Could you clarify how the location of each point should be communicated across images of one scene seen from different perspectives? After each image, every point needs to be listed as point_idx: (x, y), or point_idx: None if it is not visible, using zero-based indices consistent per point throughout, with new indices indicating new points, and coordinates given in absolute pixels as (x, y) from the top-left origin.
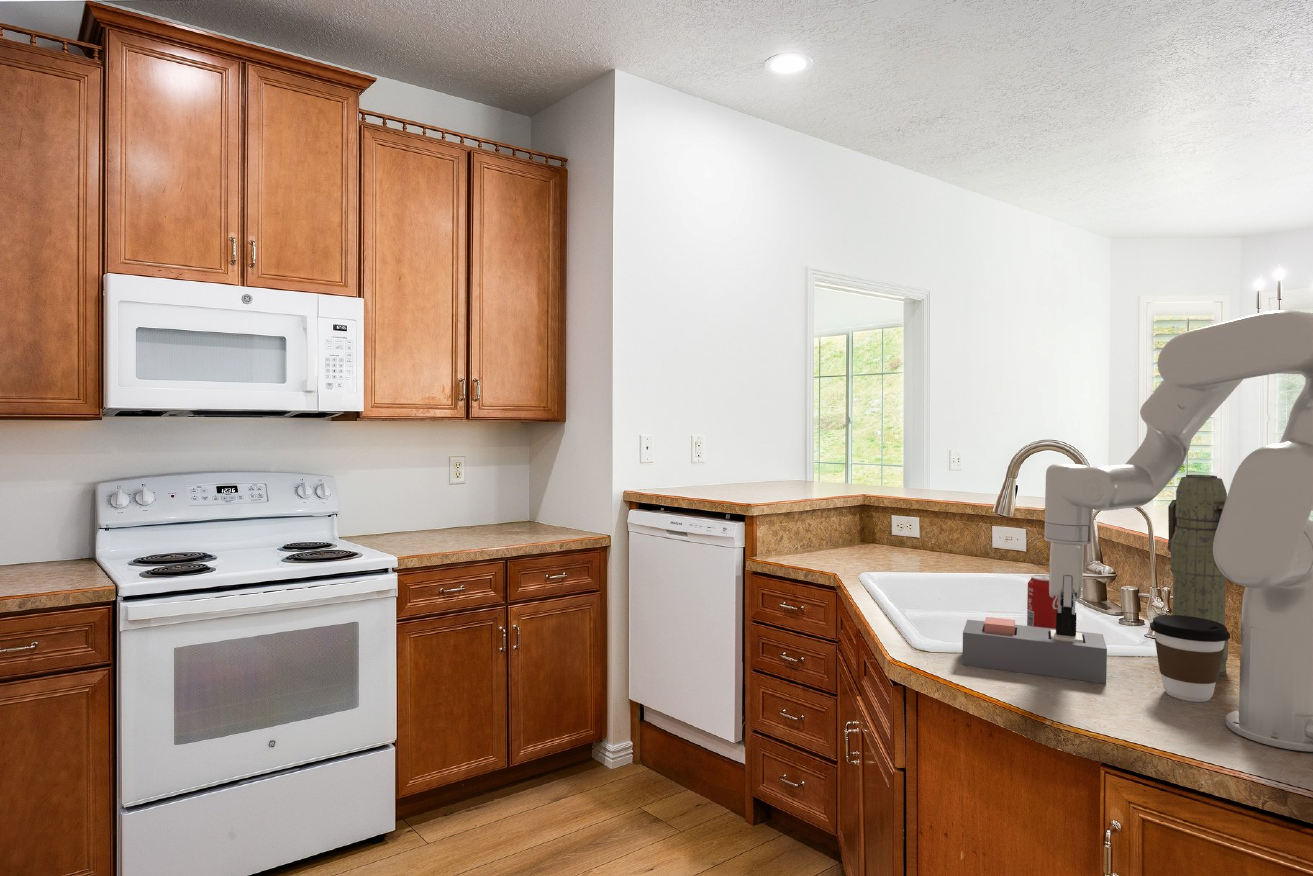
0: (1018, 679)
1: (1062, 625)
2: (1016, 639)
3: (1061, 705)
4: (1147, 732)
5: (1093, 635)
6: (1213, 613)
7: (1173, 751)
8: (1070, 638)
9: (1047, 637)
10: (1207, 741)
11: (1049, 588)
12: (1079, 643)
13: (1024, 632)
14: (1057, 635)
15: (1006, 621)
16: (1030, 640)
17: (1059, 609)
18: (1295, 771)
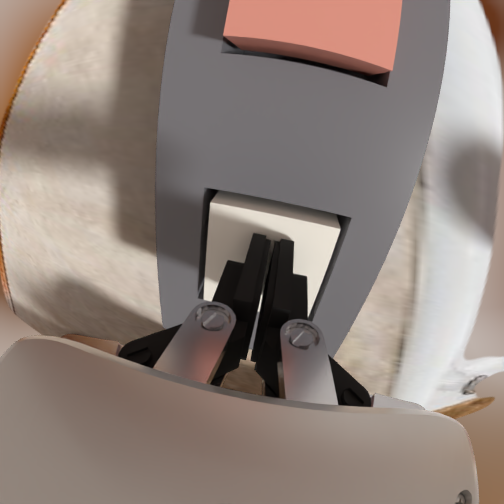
0: (146, 72)
1: (222, 276)
2: (168, 54)
3: (41, 161)
4: (25, 253)
5: None
6: None
7: (6, 259)
8: (209, 268)
9: (230, 187)
10: (42, 300)
11: (91, 415)
12: (185, 280)
13: (295, 97)
14: (238, 232)
15: (335, 11)
16: (160, 109)
17: (185, 324)
18: (35, 328)
